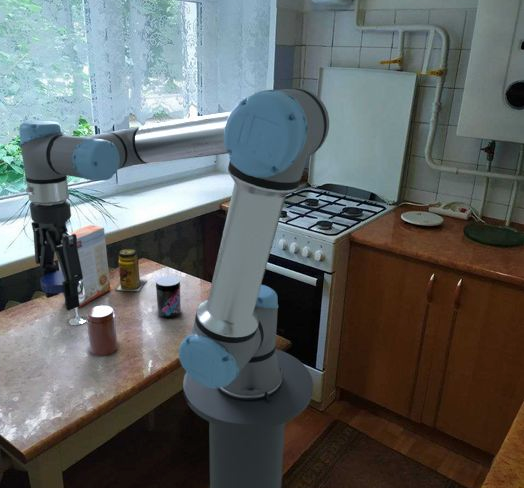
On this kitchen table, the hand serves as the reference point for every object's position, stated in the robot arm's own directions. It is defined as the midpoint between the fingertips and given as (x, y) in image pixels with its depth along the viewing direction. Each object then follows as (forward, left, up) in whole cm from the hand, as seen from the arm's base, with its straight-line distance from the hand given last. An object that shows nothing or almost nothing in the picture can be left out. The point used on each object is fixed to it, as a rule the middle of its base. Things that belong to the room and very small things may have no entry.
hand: (62, 301), depth 108 cm
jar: (+3, -11, -19) cm, 22 cm away
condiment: (+28, -38, -19) cm, 51 cm away
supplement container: (+5, -34, -19) cm, 39 cm away
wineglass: (+20, -14, -19) cm, 31 cm away
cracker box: (+31, -24, -19) cm, 44 cm away
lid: (0, 0, +5) cm, 5 cm away
